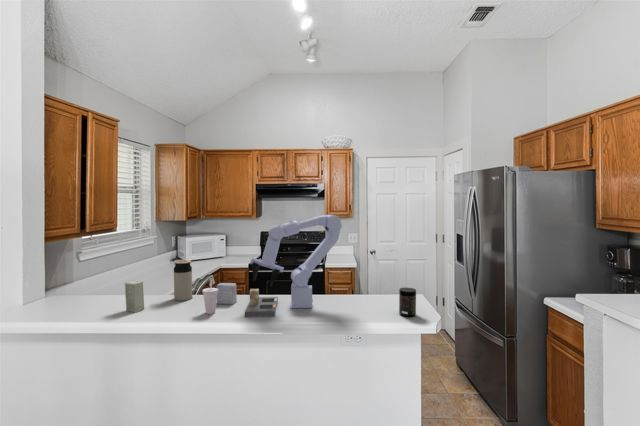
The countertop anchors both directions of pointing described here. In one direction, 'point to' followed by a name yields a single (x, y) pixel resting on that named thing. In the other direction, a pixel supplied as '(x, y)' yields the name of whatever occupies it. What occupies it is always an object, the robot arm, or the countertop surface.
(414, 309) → the supplement container
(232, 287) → the medicine box
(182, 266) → the travel mug
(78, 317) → the countertop surface
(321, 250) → the robot arm
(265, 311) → the dock
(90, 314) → the countertop surface
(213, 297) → the smoothie
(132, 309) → the skincare box
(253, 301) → the tan rectangular block
